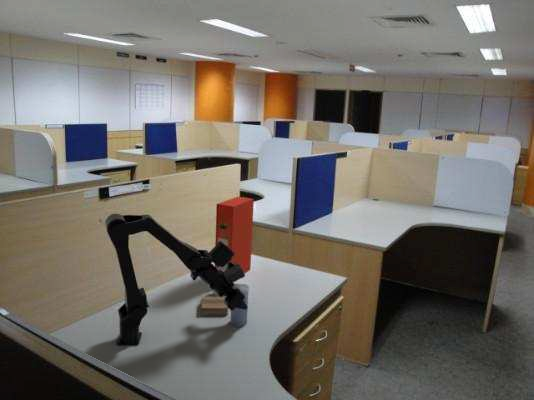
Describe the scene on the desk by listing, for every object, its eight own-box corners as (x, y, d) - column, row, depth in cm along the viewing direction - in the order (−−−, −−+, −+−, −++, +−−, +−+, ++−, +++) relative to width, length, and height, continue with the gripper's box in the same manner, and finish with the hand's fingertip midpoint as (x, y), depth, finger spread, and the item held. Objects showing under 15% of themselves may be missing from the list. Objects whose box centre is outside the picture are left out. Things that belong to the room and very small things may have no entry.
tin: (247, 326, 148) (249, 290, 145) (230, 327, 147) (232, 290, 144) (246, 318, 153) (248, 283, 150) (229, 318, 153) (231, 283, 150)
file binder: (213, 278, 185) (216, 203, 178) (234, 265, 200) (237, 196, 193) (230, 282, 181) (234, 206, 174) (250, 269, 197) (254, 199, 189)
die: (229, 290, 176) (215, 270, 174) (243, 287, 169) (228, 266, 168) (216, 304, 170) (201, 284, 168) (230, 301, 164) (214, 280, 162)
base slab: (227, 314, 155) (227, 308, 154) (201, 314, 154) (201, 308, 153) (226, 303, 164) (227, 296, 163) (202, 303, 163) (202, 296, 162)
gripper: (240, 269, 135) (271, 298, 142) (221, 249, 152) (250, 275, 159) (214, 296, 134) (246, 324, 141) (198, 272, 150) (228, 299, 157)
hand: (243, 304), depth 149 cm, fingers open, 6 cm apart
